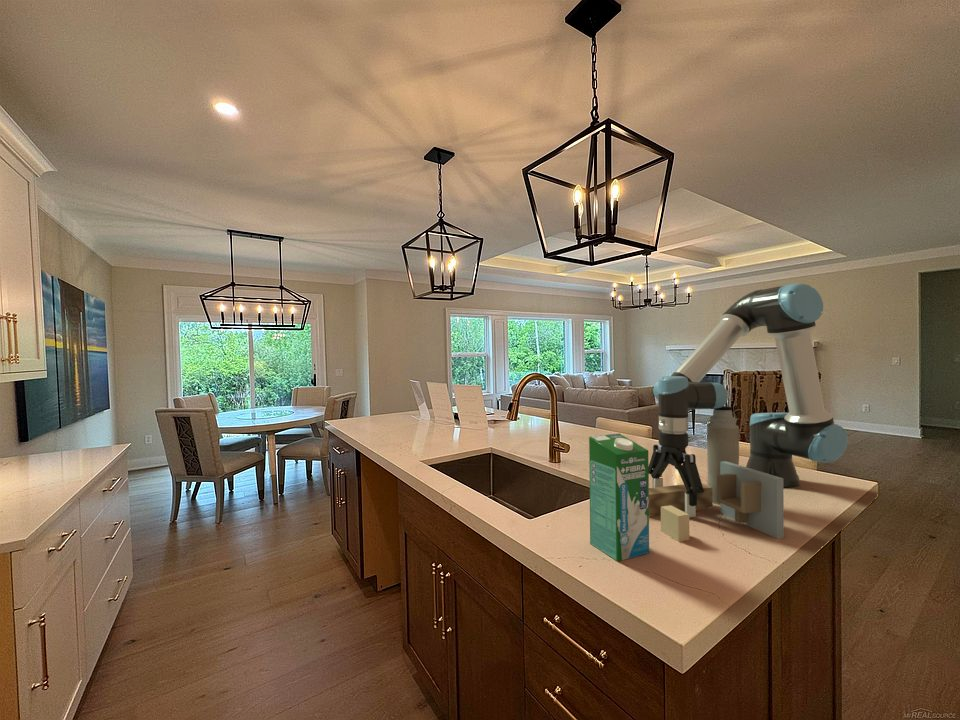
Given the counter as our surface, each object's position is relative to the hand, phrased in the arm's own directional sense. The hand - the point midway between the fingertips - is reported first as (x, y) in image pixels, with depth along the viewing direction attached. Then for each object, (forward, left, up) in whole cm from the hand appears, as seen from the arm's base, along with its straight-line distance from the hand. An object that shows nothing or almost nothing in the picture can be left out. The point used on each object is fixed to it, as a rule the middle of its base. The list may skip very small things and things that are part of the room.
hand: (673, 508), depth 113 cm
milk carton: (+28, +16, 0) cm, 32 cm away
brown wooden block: (0, 0, -1) cm, 1 cm away
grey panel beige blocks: (0, +14, 0) cm, 14 cm away
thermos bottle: (-18, -1, 0) cm, 18 cm away
